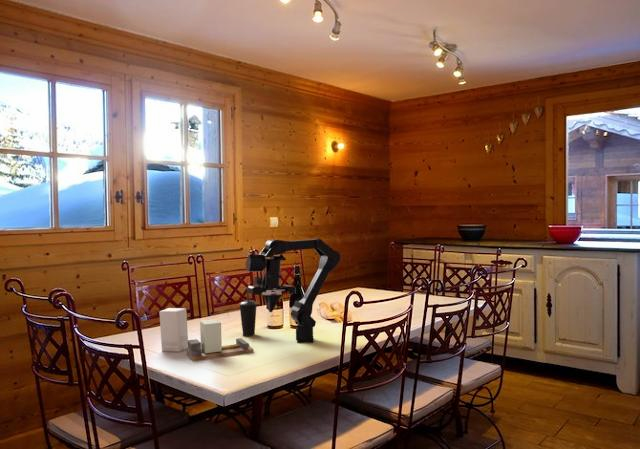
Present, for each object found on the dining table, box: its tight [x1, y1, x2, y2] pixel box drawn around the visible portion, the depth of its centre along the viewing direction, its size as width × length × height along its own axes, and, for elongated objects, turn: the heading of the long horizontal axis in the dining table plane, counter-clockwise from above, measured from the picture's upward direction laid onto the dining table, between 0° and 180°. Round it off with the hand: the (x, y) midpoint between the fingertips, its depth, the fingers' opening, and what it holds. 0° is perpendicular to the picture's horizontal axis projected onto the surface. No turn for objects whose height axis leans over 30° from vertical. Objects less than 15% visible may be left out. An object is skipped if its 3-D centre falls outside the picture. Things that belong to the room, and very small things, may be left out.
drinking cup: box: [238, 292, 258, 337], centre depth 219 cm, size 8×8×20 cm
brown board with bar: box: [186, 337, 254, 362], centre depth 193 cm, size 22×10×6 cm, turn 116°
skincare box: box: [158, 307, 189, 353], centre depth 199 cm, size 8×7×16 cm
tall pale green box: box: [199, 318, 223, 353], centre depth 191 cm, size 6×7×10 cm
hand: (270, 312), depth 201 cm, fingers closed
